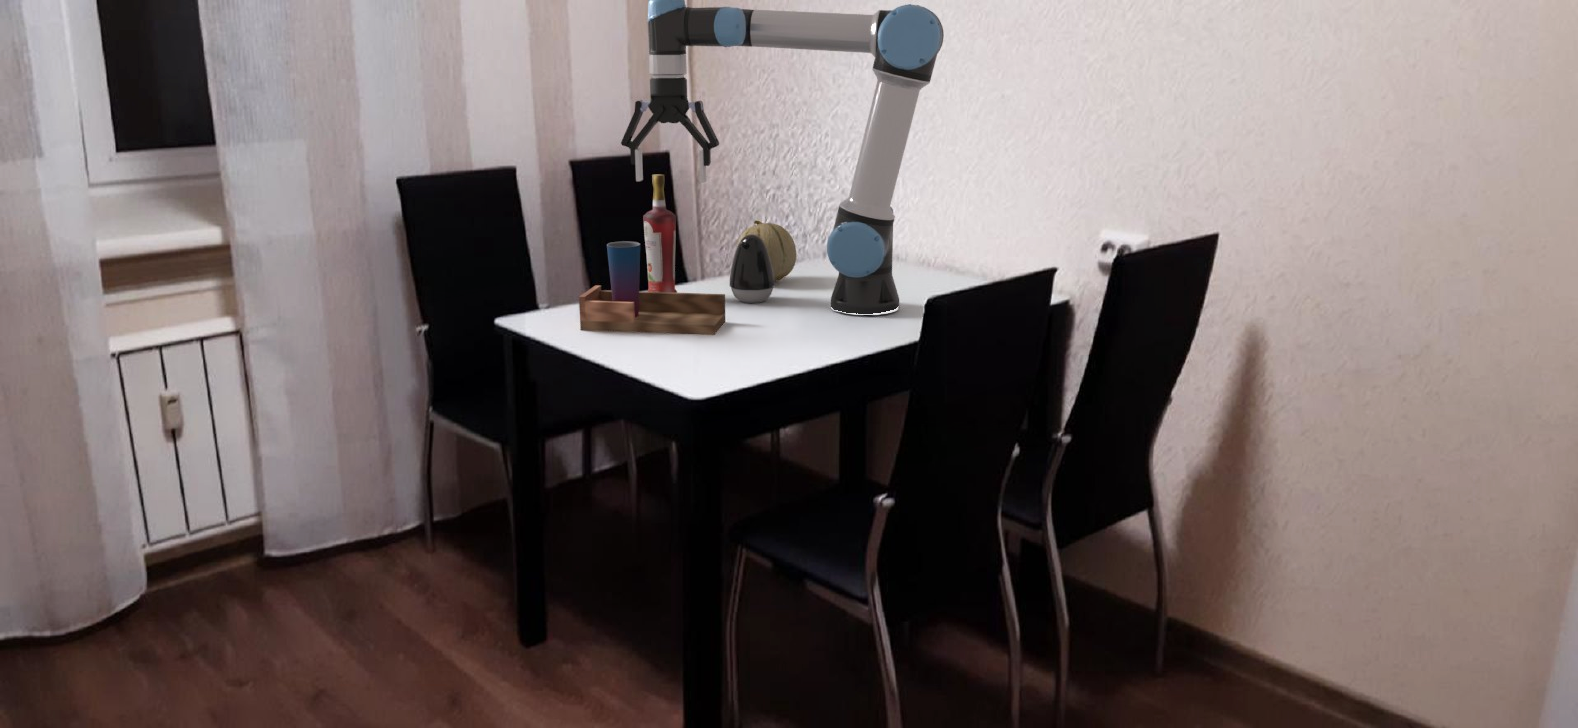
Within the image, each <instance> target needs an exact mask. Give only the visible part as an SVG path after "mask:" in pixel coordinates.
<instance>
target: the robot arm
mask: <svg viewBox="0 0 1578 728" xmlns="http://www.w3.org/2000/svg"><path fill="white" fill-rule="evenodd" d="M646 20H647V21H646V23H647V34H648V54H649V55H648V60H649V61H648V64H649V65H648V67H649V69H648V70H649V71H648V72H649V75H651V76H652V77H651V78H650V79H649V93H650V98H649V101H643V100H642V99H640V100H635V102H634V112H633V114H632V116H631V119H630V120H629V123H628V125H627V128H626V131H625V133H624V135H623V137H622V139H621V142H620V145H621V146H623V147H626V148H628V149H629V151H630V153H629V154H630V164H631V165H634V166H635V181H636V182H642V181H643V180H644V175H643V174H644V173H643V172H644V170H643V165H644V164H643V148H639V146H640V145H641V144H642V143H643V142H644V140H645V138H646V137H647V136H648V135H649V133H650V132H652V129H654V127H655V126H656V125H657V124H658V123H660V124H666V123H670V124H678V123H680V124H681V125H682V126H683V127H684V128H685V130H687V132H688V133H689V134H690V136H691V137H693V139H694V140H695V141H696V142H697V144H699V146H700V147H701V148H702V149H700V150H699V151H698V152H699V153H698V155H699V156H698V157H699V158H698V159H699V160H698V161H699V183H700V184H701V183H702V184H703V183H705V182H707V167H709V166H710V165H711V159H712V158H711V150H712V149H714V148H717V147H719V145H720V141H719V139H718V137H717V135H716V134H715V131H714V129H713V127H712V125H711V123H710V121H709V119H708V117H707V115H706V112H705V110H704V103H703V101H702V100H697V101H691V102H689V100H688V80H687V79H686V77H685V76H686V75H687V47H723V48H731V47H745V48H746V47H751V48H752V47H753V48H756V47H757V48H772V49H773V48H774V49H775V48H776V49H793V50H810V51H827V52H846V53H862V54H865V53H867V54H871V55H872V56H873V57H874V61H873V65H872V72H873V74H874V75H875V77H876V80H877V81H876V85H875V89H874V93H873V97H872V101H871V105H870V106H871V107H870V110H869V114H868V118H867V122H866V126H865V129H864V134H863V138H862V143H861V147H860V150H859V154H858V159H857V163H856V167H855V171H854V174H853V178H852V179H853V180H852V183H851V188H850V192H849V196H848V197H847V198H846V199H844V200H843V201H841V202H840V203H839V205H838V209H837V213H836V217H835V222H834V225H833V229H832V232H830V235H829V236H828V239H827V241H826V242H827V243H826V253H827V258H828V260H829V262H830V264H831V265H832V266H833V268H834V269H835V270H836V271H837V272H838V276H837V278H836V280H835V281H836V282H835V285H834V288H833V290H832V294H831V297H830V308H831V307H832V308H833V309H834V310H838V311H842V312H846V313H856V314H857V313H858V314H873V313H881V312H886V311H890V310H894V309H896V308H897V307H898V306H899V307H900V296H899V293H898V290H897V288H896V284H895V279H894V277H893V255H894V254H893V252H894V251H893V250H894V249H893V247H894V240H893V239H894V222H895V218H896V216H895V214H894V209H893V207H892V206H891V204H892V200H893V196H894V191H895V189H896V185H897V181H898V177H899V173H900V169H901V165H902V161H903V158H904V154H905V149H906V146H907V141H908V139H909V138H908V137H909V134H910V130H911V128H912V127H911V126H912V122H913V118H914V114H915V110H916V107H917V103H918V99H919V95H920V91H921V90H922V89H924V87H926V86H927V85H929V84H930V83H931V80H932V79H931V78H932V76H933V71H934V68H935V65H936V64H935V63H936V61H937V56H938V54H939V52H940V51H941V49H942V46H943V43H944V27H943V25H942V24H943V23H942V21H941V20H940V18H939V17H938V16H937V15H936V13H934V12H933V11H931V10H930V9H928V8H927V7H924V6H921V5H920V4H903V5H899V6H897V7H896V8H894V9H892V10H891V9H890V10H887V9H886V10H885V9H884V10H883V9H878V10H877V11H876V12H875V13H874V14H860V13H859V14H857V13H840V12H839V13H837V12H835V13H834V12H817V11H815V12H814V11H795V10H794V11H793V10H772V9H771V10H769V9H751V8H750V9H748V8H746V9H745V8H739V7H733V6H732V7H731V6H720V7H719V6H716V7H715V6H713V7H706V6H705V7H690V6H687V5H686V0H649V1H648V3H647V19H646ZM647 109H649V111H650V112H651V114H652V115H651V117H650V118H649V119H648V121H647V122H646V124H645V125H644V126H643V127H642V129H641V130H640V131H639V132H638V134H637V135H636V137H635V138H633V137H634V134H635V133H636V130H637V128H638V126H639V124H640V121H641V118H642V116H643V114H644V112H646V111H647ZM690 109H691V111H692V112H693V113H695V114H696V117H697V119H698V121H699V123H700V125H701V127H702V129H703V131H704V133H705V136H706V137H707V139H706V137H705V136H704V135H703V134H702V133H701V131H700V130H699V129H698V128H697V127H696V126H695V124H694V123H693V122H692V121H691V119H690V118H689V116H688V115H687V113H688V111H689V110H690ZM632 139H633V140H632Z"/></svg>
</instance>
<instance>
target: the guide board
mask: <svg viewBox="0 0 1578 728" xmlns="http://www.w3.org/2000/svg"><path fill="white" fill-rule="evenodd" d="M578 307H579V323H580V324H579V325H580V331H591V332H592V331H594V332H595V331H596V332H620V333H622V332H623V333H645V334H647V333H649V334H651V333H652V334H673V335H699V336H700V335H701V336H715V335H716V334H717V333H718V332H719V330H720V329H721V328H722V327H723V326H724V325H725V323H726V294H724V293H700V292H699V293H698V292H695V293H694V292H677V293H673V292H647V291H640V290H639V315H638V316H637V317H635V312H634V302H619V301H613V300H612V290H611V289H610V290H609V289H608V290H607V289H604V290H602V285H598V284H597V285H594V286H592V287H591V288H589V289H588V290H586V291H585V292H584V293H582V294H580V295H579V296H578Z"/></svg>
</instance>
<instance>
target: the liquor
mask: <svg viewBox="0 0 1578 728" xmlns="http://www.w3.org/2000/svg"><path fill="white" fill-rule="evenodd" d="M651 176H652V177H651V178H652V179H651V180H652V187H653V196H652V209H650V210H649V211H647V212H646V213H645V214H643V216H642V217H643V218H642V220H643V230H644V231H643V232H644V233H643V234H644V242H645V243H644V245H645V253H646V265H647V266H646V268H647V283H648V289H647V291H646V292H673V293H678V291H677V290H676V286H675V285H676V271H675V270H676V269H675V268H676V266H675V265H676V240H677V239H676V238H677V237H676V232H677V231H676V230H677V227H676V225H677V223H676V221H677V215H676V214H675V213H673V212H672V211H670V210H668V209H667V205H666V198H665V197H666V196H665V191H664V188H665V174H661V173H660V174H652V175H651Z"/></svg>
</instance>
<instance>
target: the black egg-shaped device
mask: <svg viewBox="0 0 1578 728" xmlns="http://www.w3.org/2000/svg"><path fill="white" fill-rule="evenodd" d="M737 245H738V246H737ZM737 245H736V249H735V253H734V255H733V258H732V262H731V263H732V264H731V268H730V273H729V287H730V288H731V292H732V294H733V296H734V298H736V299H737V300H738V301H739V302H742V303H744V304H745V303H746V304H760V303H762V302H764V301H766V300H767V299H768V298H770V297H771V295H772V292H773V290H774V287H775V280H774V272H773V267H772V263H771V259H770V256H769V252H768V250H767V247H766V245H765V243H764V242H763V240H762V239H761V238H760V237H759V236H757V235H754V234H750V235H746V236H745V237H743V238H742V239H741V241H740V243H739V244H738V243H737Z"/></svg>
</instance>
